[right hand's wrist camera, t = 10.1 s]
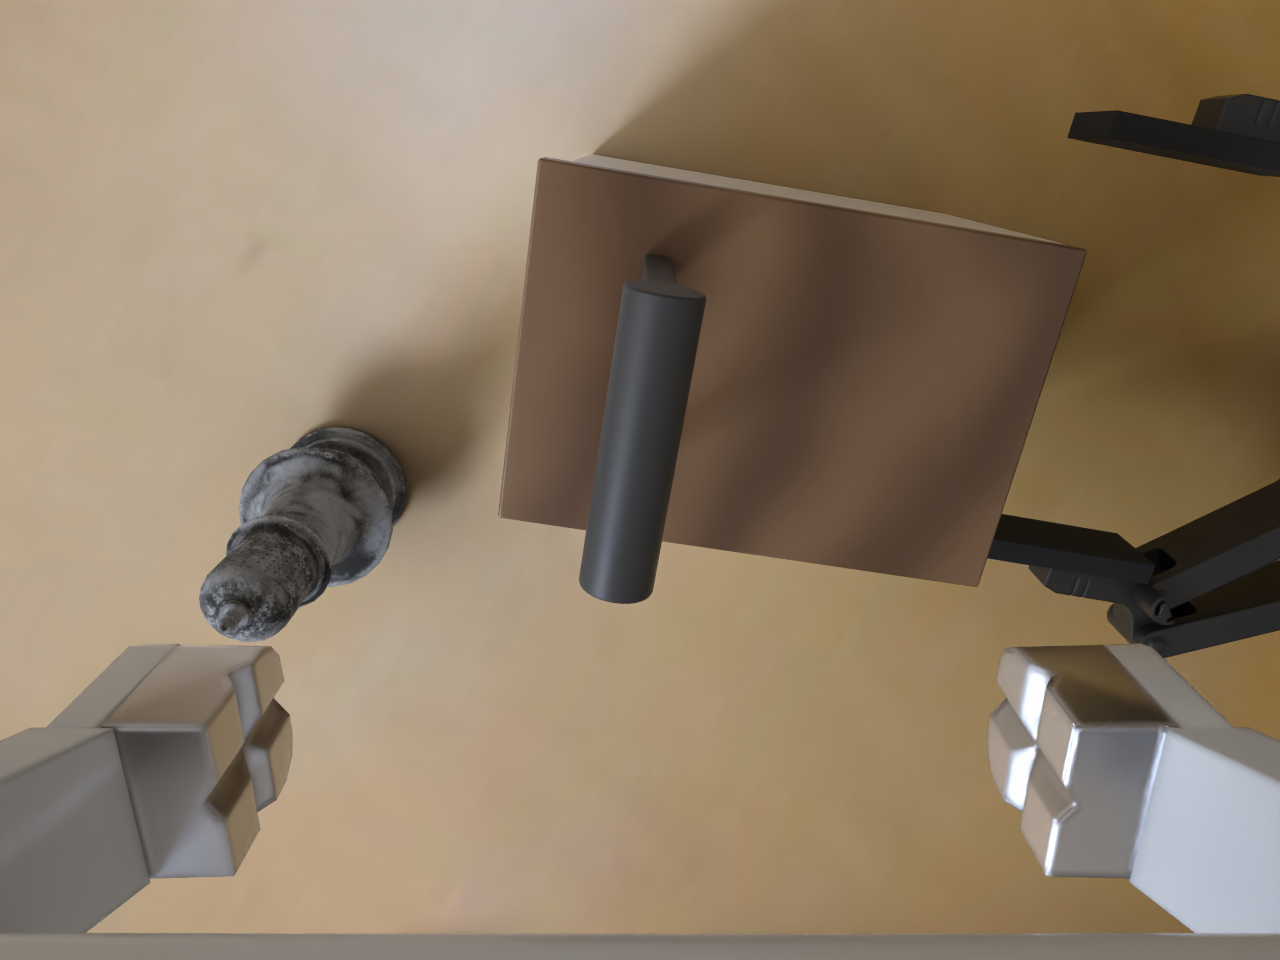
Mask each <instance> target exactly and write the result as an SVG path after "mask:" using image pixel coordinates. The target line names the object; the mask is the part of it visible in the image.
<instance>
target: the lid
mask: <svg viewBox="0 0 1280 960" xmlns="http://www.w3.org/2000/svg"><path fill="white" fill-rule="evenodd" d="M1085 256H1086V250H1085V249H1082V248H1078V247H1074V246H1070V245H1066V244H1060V243H1054V242H1048V241H1042V240H1036V239H1030V238H1024V237H1018V236H1012V235H1006V234H1000V233H994V232H988V231H982V230H976V229H970V228H964V227H958V226H952V225H946V224H940V223H935V222H929V221H923V220H917V219H911V218H905V217H899V216H893V215H887V214H881V213H875V212H869V211H863V210H857V209H851V208H845V207H839V206H833V205H827V204H821V203H815V202H809V201H803V200H797V199H791V198H785V197H779V196H773V195H768V194H762V193H756V192H750V191H744V190H738V189H732V188H726V187H720V186H714V185H708V184H702V183H696V182H690V181H684V180H678V179H672V178H666V177H660V176H654V175H648V174H642V173H636V172H630V171H624V170H618V169H612V168H607V167H601V166H595V165H589V164H583V163H577V162H571V161H565V160H559V159H553V158H547V157H545V158H540V159H539V160H538V167H537V176H536V185H535V193H534V202H533V211H532V220H531V229H530V238H529V247H528V256H527V265H526V274H525V282H524V291H523V300H522V309H521V318H520V327H519V336H518V345H517V354H516V363H515V371H514V380H513V389H512V398H511V407H510V416H509V425H508V434H507V443H506V452H505V460H504V469H503V478H502V487H501V496H500V505H499V514H498V515H499V517H500V518H506V519H513V520H520V521H527V522H534V523H541V524H547V525H554V526H561V527H568V528H575V529H582V530H586V537H585V543H584V550H583V556H582V563H581V570H580V576H579V582H580V585H581V587H582V588H583V589H584V590H585V591H586V592H587V593H588V594H590V595H592V596H593V597H595V598H598V599H600V600H604V601H607V602H612V603H619V604H630V603H637V602H641V601H643V600H645V599H647V598H648V597H649V596H650V595H651V594H652V591H653V587H654V581H655V576H656V570H657V565H658V559H659V554H660V549H661V543H662V541H664V542H671V543H678V544H685V545H692V546H698V547H705V548H712V549H719V550H726V551H733V552H740V553H746V554H753V555H760V556H767V557H774V558H781V559H788V560H795V561H801V562H808V563H815V564H822V565H829V566H836V567H843V568H849V569H856V570H863V571H870V572H877V573H884V574H891V575H897V576H904V577H911V578H918V579H925V580H932V581H939V582H946V583H952V584H959V585H966V586H973V587H977V586H978V585H979V581H980V578H981V575H982V572H983V569H984V566H985V563H986V560H987V557H988V554H989V551H990V548H991V545H992V542H993V538H994V535H995V532H996V529H997V526H998V523H999V520H1000V517H1001V514H1002V511H1003V508H1004V505H1005V502H1006V499H1007V495H1008V492H1009V489H1010V486H1011V483H1012V480H1013V477H1014V474H1015V471H1016V468H1017V465H1018V462H1019V459H1020V456H1021V452H1022V449H1023V446H1024V443H1025V440H1026V437H1027V434H1028V431H1029V428H1030V425H1031V422H1032V419H1033V416H1034V413H1035V409H1036V406H1037V403H1038V400H1039V397H1040V394H1041V391H1042V388H1043V385H1044V382H1045V379H1046V376H1047V373H1048V369H1049V366H1050V363H1051V360H1052V357H1053V354H1054V351H1055V348H1056V345H1057V342H1058V339H1059V336H1060V333H1061V330H1062V326H1063V323H1064V320H1065V317H1066V314H1067V311H1068V308H1069V305H1070V302H1071V299H1072V296H1073V293H1074V290H1075V287H1076V283H1077V280H1078V277H1079V274H1080V271H1081V268H1082V265H1083V262H1084V259H1085Z"/></svg>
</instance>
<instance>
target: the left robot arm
mask: <svg viewBox="0 0 1280 960" xmlns="http://www.w3.org/2000/svg"><path fill="white" fill-rule="evenodd" d="M1068 138H1071V139H1076V140H1081V141H1086V142H1091V143H1096V144H1102V145H1107V146H1112V147H1117V148H1122V149H1127V150H1132V151H1137V152H1142V153H1148V154H1153V155H1158V156H1163V157H1168V158H1173V159H1178V160H1183V161H1188V162H1194V163H1199V164H1204V165H1209V166H1214V167H1219V168H1224V169H1229V170H1234V171H1239V172H1245V173H1250V174H1255V175H1261V176H1277V177H1280V101H1278V100H1274V99H1269V98H1264V97H1259V96H1254V95H1249V94H1241V95H1227V96H1217V97H1212V98H1207V99H1203V100H1200V103H1199V106H1198V108H1197V111H1196V114H1195V117H1194V119H1193V122H1192V125H1188V124H1183V123H1178V122H1173V121H1168V120H1163V119H1158V118H1153V117H1148V116H1143V115H1138V114H1133V113H1128V112H1123V111H1100V112H1082V113H1075V116H1074V119H1073V122H1072V125H1071V128H1070V131H1069V134H1068ZM987 558H989V559H995V560H1001V561H1007V562H1013V563H1019V564H1026V565H1030V566H1029V569H1030V570H1031V572H1032V573H1033V574H1034V575H1035V576H1036V577H1037V578H1038V579H1039V580H1040V582H1041V583H1042V584H1043V585H1044V586H1045V587H1047V588H1049V589H1050V590H1052V591H1054V592H1055V593H1059V594H1065V595H1073V596H1078V597H1084V598H1090V599H1096V600H1102V601H1108V602H1113V605H1111V606H1110V608H1109V610H1108V612H1107V618H1108V621H1109V622H1110V623H1111V624H1112V625H1113V626H1114V627H1115V629H1116V630H1117V631H1118V632H1119V633H1120V634H1121V635H1122V636H1123V637H1124V638H1125V639H1126V640H1127V641H1128V642H1129V643H1130V644H1143V645H1146V646H1149V647H1152V648H1153V649H1154V650H1156V651H1157V652H1158V653H1159V654H1160V655H1161V656H1162V657H1163V658H1166V657H1170V656H1174V655H1179V654H1183V653H1187V652H1191V651H1195V650H1199V649H1204V648H1208V647H1212V646H1216V645H1220V644H1224V643H1228V642H1233V641H1237V640H1241V639H1245V638H1249V637H1253V636H1258V635H1262V634H1266V633H1270V632H1274V631H1278V630H1280V560H1279V559H1280V479H1279V480H1278V481H1276V482H1274V483H1272V484H1270V485H1268V486H1266V487H1264V488H1262V489H1260V490H1257V491H1255V492H1253V493H1251V494H1249V495H1247V496H1245V497H1243V498H1241V499H1238V500H1236V501H1234V502H1232V503H1230V504H1228V505H1226V506H1224V507H1222V508H1220V509H1217V510H1215V511H1213V512H1211V513H1209V514H1207V515H1205V516H1203V517H1201V518H1198V519H1196V520H1194V521H1192V522H1190V523H1188V524H1186V525H1184V526H1182V527H1180V528H1177V529H1175V530H1173V531H1171V532H1169V533H1167V534H1165V535H1163V536H1161V537H1158V538H1156V539H1154V540H1152V541H1150V542H1148V543H1146V544H1144V545H1142V546H1140V547H1137V548H1134V547H1133V546H1132V545H1130V544H1129V543H1128V542H1127V541H1126V540H1124V539H1123V538H1122V537H1121V536H1120V535H1118V534H1117V533H1112V532H1106V531H1100V530H1094V529H1088V528H1082V527H1076V526H1070V525H1064V524H1058V523H1052V522H1046V521H1040V520H1034V519H1028V518H1022V517H1016V516H1010V515H1004V514H1001V517H1000V520H999V523H998V526H997V529H996V532H995V535H994V538H993V542H992V545H991V548H990V551H989V554H988V557H987ZM1277 560H1279V561H1277ZM1274 561H1275V562H1274Z"/></svg>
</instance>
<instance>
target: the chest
mask: <svg viewBox="0 0 1280 960" xmlns="http://www.w3.org/2000/svg"><path fill="white" fill-rule="evenodd" d="M572 162H577V163H583V164H589V165H595V166H601V167H607V168H612V169H618V170H624V171H630V172H636V173H642V174H648V175H654V176H660V177H666V178H672V179H678V180H684V181H690V182H696V183H702V184H708V185H714V186H720V187H726V188H732V189H738V190H744V191H750V192H756V193H762V194H768V195H773V196H779V197H785V198H791V199H797V200H803V201H809V202H815V203H821V204H827V205H833V206H839V207H845V208H851V209H857V210H863V211H869V212H875V213H881V214H887V215H893V216H899V217H905V218H911V219H917V220H923V221H929V222H935V223H940V224H946V225H952V226H958V227H964V228H970V229H976V230H982V231H988V232H994V233H1000V234H1006V235H1012V236H1018V237H1024V238H1030V239H1036V240H1042V241H1048V242H1054V243H1059V242H1055V241H1051V240H1047V239H1043V238H1039V237H1035V236H1031V235H1027V234H1023V233H1019V232H1015V231H1011V230H1007V229H1003V228H999V227H996V226H992V225H988V224H984V223H980V222H976V221H972V220H968V219H964V218H960V217H956V216H952V215H948V214H944V213H938V212H932V211H926V210H921V209H915V208H909V207H903V206H897V205H891V204H885V203H879V202H873V201H867V200H861V199H855V198H849V197H843V196H837V195H831V194H826V193H820V192H814V191H808V190H802V189H796V188H790V187H784V186H778V185H772V184H766V183H760V182H754V181H748V180H742V179H736V178H730V177H725V176H719V175H713V174H707V173H701V172H695V171H689V170H683V169H677V168H671V167H665V166H659V165H653V164H647V163H641V162H635V161H629V160H624V159H618V158H612V157H606V156H600V155H594V154H592V155H589V156H586V157H584V158H581V159H578V160H575V161H572ZM1060 244H1063V243H1060Z"/></svg>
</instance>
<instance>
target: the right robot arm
mask: <svg viewBox="0 0 1280 960" xmlns="http://www.w3.org/2000/svg"><path fill="white" fill-rule="evenodd" d="M283 682H284V677H283V672H282V667H281V662H280V657H279V654H278V653H277V652H276V651H275V650H274V649H273V648H272V647H271V646H230V645H180V644H147V645H136V646H130V647H128V648H127V649H126V650H125V651H124V652H123V653H122V654H121V655H120V656H119V657H118V658H117V659H116V660H115V661H114V662H113V663H112V664H110V665H109V666H108V667H107V668H106V669H105V670H104V671H103V672H102V673H101V674H100V675H99V676H98V677H97V678H96V679H95V680H94V681H93V682H92V683H91V684H90V685H89V686H88V687H87V688H86V689H85V690H84V691H83V692H82V693H81V694H80V695H79V696H78V697H77V698H76V699H75V700H74V701H73V702H72V703H71V704H70V705H69V706H68V707H67V708H66V709H65V710H64V711H63V712H62V713H60V714H59V715H58V716H57V717H56V718H55V719H54V720H53V721H52V722H51V723H50V724H49V725H48V726H47V727H46V728H29V729H27V730H25V731H22V732H20V733H18V734H16V735H13V736H11V737H9V738H6V739H4V740H2V741H0V960H1280V741H1278V740H1276V739H1274V738H1271V737H1269V736H1267V735H1264V734H1262V733H1260V732H1258V731H1255V730H1253V729H1251V728H1234V727H1233V726H1232V725H1231V724H1230V723H1229V722H1228V721H1227V720H1226V719H1225V718H1224V717H1223V716H1222V715H1221V714H1220V713H1219V712H1218V711H1217V710H1216V709H1215V708H1214V707H1212V706H1211V705H1210V704H1209V703H1208V702H1207V701H1206V700H1205V699H1204V698H1203V697H1202V696H1201V695H1200V694H1199V693H1198V692H1197V691H1196V690H1195V689H1194V688H1193V687H1192V686H1191V685H1190V684H1189V683H1188V682H1187V681H1186V680H1185V679H1184V678H1183V677H1182V676H1181V675H1180V674H1179V673H1178V672H1177V671H1176V670H1175V669H1174V668H1173V667H1172V666H1171V665H1170V664H1169V663H1168V662H1167V661H1166V660H1165V659H1164V658H1163V657H1162V656H1161V655H1160V654H1159V653H1158V652H1157V651H1156V650H1154V649H1153V648H1152V647H1149V646H1146V645H1143V644H1117V645H1083V646H1043V647H1012V648H1005V650H1004V652H1003V654H1002V656H1001V658H1000V661H999V665H998V671H997V677H996V682H997V683H998V685H999V687H1000V688H1001V690H1002V691H1003V693H1004V694H1005V696H1006V697H1007V698H1006V699H1005V700H1004V701H1003V702H1002V703H1001V704H1000V705H999V706H998V707H997V708H996V710H995V711H994V712H993V713H992V714H991V715H990V721H989V729H988V737H987V745H988V756H989V766H990V769H991V772H992V775H993V779H994V782H995V784H996V786H997V788H998V790H999V792H1000V794H1001V796H1002V798H1003V800H1005V801H1006V802H1008V803H1009V804H1011V805H1012V806H1014V807H1015V808H1017V809H1018V810H1020V811H1022V812H1023V814H1022V819H1021V825H1020V831H1021V832H1022V834H1023V836H1024V838H1025V839H1026V841H1027V843H1028V845H1029V847H1030V848H1031V850H1032V852H1033V854H1034V856H1035V857H1036V859H1037V861H1038V863H1039V864H1040V866H1041V868H1042V870H1043V872H1044V873H1045V875H1046V876H1059V877H1095V878H1130V883H1131V884H1133V885H1134V886H1135V887H1136V888H1138V889H1139V890H1140V891H1142V892H1143V893H1144V894H1145V895H1147V896H1148V897H1149V898H1151V899H1152V900H1153V901H1154V902H1156V903H1157V904H1158V905H1160V906H1161V907H1162V908H1163V909H1165V910H1166V911H1167V912H1169V913H1170V914H1171V915H1172V916H1174V917H1175V918H1176V919H1178V920H1179V921H1180V922H1181V923H1183V924H1184V925H1185V926H1187V927H1188V928H1189V929H1190V930H1192V931H1193V932H1194V933H86V932H87V931H89V930H90V929H91V928H92V927H94V926H95V925H96V924H98V923H99V922H100V921H101V920H103V919H104V918H105V917H107V916H108V915H109V914H110V913H112V912H113V911H114V910H116V909H117V908H118V907H119V906H121V905H122V904H123V903H125V902H126V901H127V900H128V899H130V898H131V897H132V896H134V895H135V894H136V893H137V892H139V891H140V890H141V889H143V888H144V887H145V886H146V885H148V884H149V883H150V879H149V878H183V877H219V876H234V875H235V874H236V872H237V870H238V868H239V866H240V865H241V863H242V861H243V859H244V857H245V856H246V854H247V852H248V850H249V848H250V847H251V845H252V843H253V841H254V839H255V838H256V836H257V834H258V832H259V831H260V825H259V819H258V814H257V812H258V811H260V810H262V809H263V808H265V807H266V806H268V805H269V804H271V803H272V802H274V801H275V800H277V798H278V796H279V794H280V792H281V790H282V788H283V786H284V784H285V782H286V780H287V775H288V771H289V767H290V762H291V758H292V727H291V720H290V715H289V714H288V713H287V712H286V711H285V710H284V708H283V707H282V706H281V705H280V704H279V703H278V702H277V701H276V700H275V699H274V698H273V697H274V696H275V694H276V693H277V691H278V690H279V688H280V687H281V685H282V683H283Z"/></svg>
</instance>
